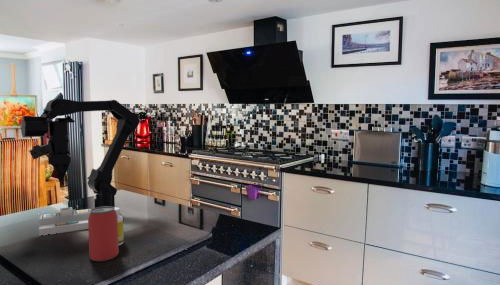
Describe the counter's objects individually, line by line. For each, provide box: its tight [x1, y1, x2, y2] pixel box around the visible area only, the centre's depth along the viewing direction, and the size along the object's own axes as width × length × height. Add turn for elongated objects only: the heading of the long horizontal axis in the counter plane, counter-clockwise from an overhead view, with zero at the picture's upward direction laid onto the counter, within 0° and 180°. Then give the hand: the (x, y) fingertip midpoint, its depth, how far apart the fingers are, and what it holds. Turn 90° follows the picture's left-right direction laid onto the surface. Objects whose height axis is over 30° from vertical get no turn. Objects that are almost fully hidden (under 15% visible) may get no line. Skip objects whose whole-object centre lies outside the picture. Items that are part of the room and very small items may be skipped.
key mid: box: [59, 206, 73, 216], centre depth 106 cm, size 3×3×2 cm
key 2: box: [75, 208, 89, 214], centre depth 109 cm, size 3×3×2 cm
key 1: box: [43, 212, 57, 219], centre depth 104 cm, size 3×3×2 cm
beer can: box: [87, 206, 120, 262], centre depth 81 cm, size 7×7×12 cm
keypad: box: [38, 208, 91, 237], centre depth 106 cm, size 14×14×4 cm
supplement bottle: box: [114, 206, 125, 247], centre depth 90 cm, size 5×5×10 cm
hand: (61, 181), depth 113 cm, fingers closed
